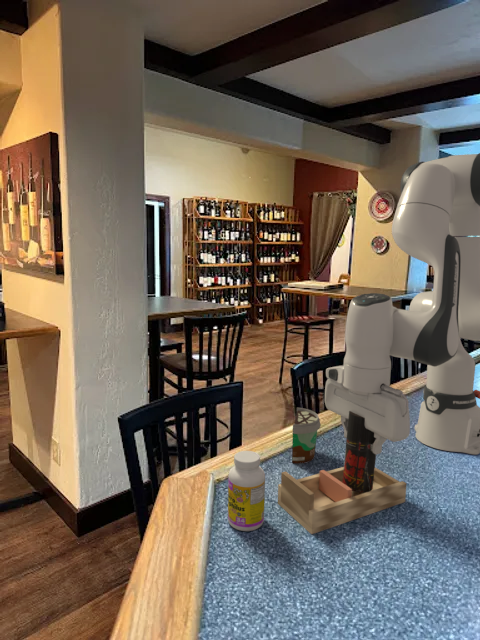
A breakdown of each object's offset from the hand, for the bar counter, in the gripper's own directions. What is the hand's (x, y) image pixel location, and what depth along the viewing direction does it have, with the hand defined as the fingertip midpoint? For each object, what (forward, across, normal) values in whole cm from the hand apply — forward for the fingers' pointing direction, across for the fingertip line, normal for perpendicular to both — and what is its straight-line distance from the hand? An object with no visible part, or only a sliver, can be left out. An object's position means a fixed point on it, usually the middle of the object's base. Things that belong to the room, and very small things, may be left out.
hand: (361, 445), depth 91 cm
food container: (+11, +20, -2) cm, 23 cm away
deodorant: (+8, 0, +1) cm, 9 cm away
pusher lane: (+11, 0, +4) cm, 12 cm away
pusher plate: (+10, 0, +6) cm, 12 cm away
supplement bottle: (+12, +3, +24) cm, 27 cm away
